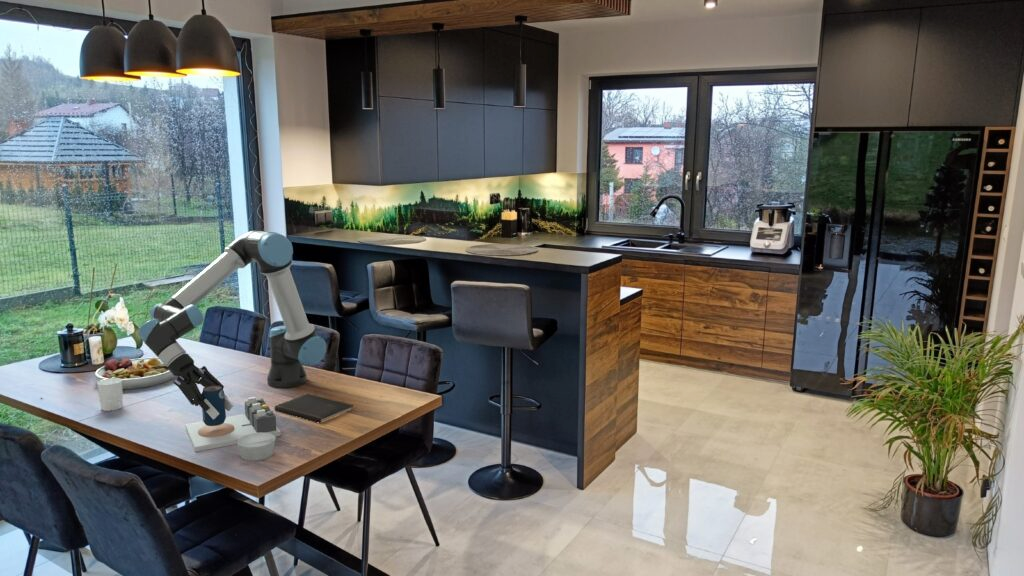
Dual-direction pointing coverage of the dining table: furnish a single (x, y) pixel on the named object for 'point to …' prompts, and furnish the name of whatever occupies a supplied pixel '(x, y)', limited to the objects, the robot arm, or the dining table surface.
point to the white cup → (110, 393)
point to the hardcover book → (313, 408)
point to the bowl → (135, 372)
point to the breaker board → (234, 427)
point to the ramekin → (256, 446)
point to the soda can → (214, 404)
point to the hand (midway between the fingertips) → (223, 412)
